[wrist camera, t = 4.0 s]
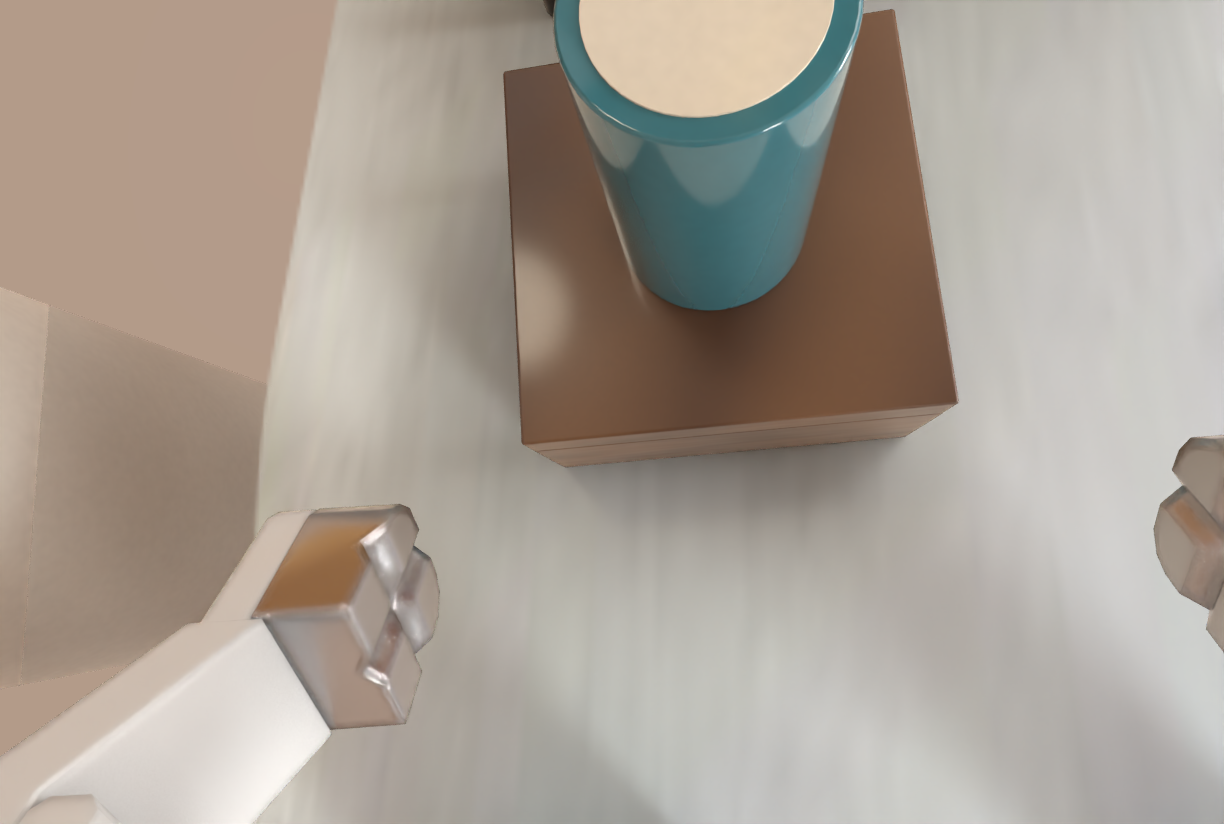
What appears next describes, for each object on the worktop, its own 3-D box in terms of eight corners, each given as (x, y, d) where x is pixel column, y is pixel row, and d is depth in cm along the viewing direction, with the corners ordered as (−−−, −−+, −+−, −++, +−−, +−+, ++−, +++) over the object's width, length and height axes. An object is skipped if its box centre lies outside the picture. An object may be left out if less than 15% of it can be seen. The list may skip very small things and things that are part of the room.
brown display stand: (564, 467, 27) (520, 445, 21) (546, 165, 30) (502, 70, 24) (906, 436, 26) (960, 403, 20) (859, 120, 28) (895, 7, 22)
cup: (626, 321, 22) (560, 164, 13) (612, 150, 23) (542, -104, 14) (817, 299, 21) (887, 117, 12) (794, 124, 22) (843, -161, 13)
